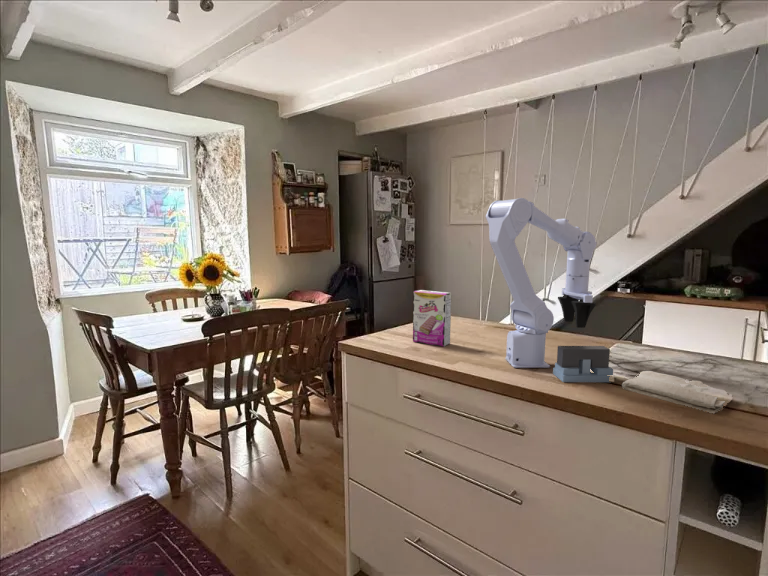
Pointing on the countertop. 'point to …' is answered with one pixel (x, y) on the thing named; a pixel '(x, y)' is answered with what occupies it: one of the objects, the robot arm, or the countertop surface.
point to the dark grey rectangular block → (583, 356)
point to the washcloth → (672, 391)
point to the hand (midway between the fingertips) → (574, 324)
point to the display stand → (582, 373)
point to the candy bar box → (431, 317)
